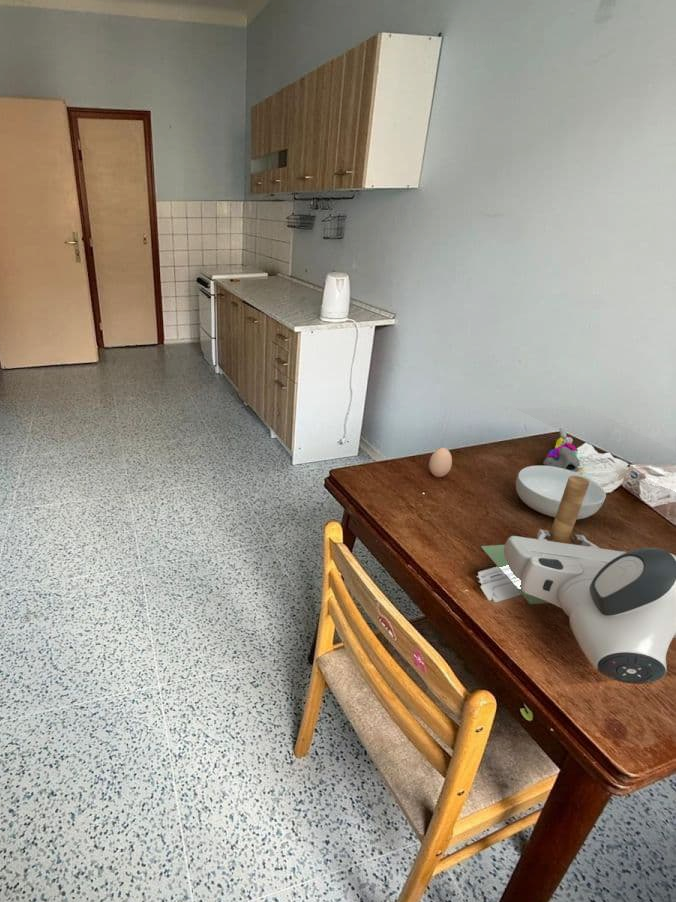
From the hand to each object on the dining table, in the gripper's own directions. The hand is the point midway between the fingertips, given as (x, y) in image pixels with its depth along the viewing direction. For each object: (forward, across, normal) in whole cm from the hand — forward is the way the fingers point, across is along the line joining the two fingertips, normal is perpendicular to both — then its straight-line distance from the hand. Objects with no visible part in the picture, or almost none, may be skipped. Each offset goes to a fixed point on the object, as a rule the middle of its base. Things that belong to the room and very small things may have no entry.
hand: (559, 535), depth 86 cm
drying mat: (0, -1, +9) cm, 9 cm away
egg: (+34, +16, +9) cm, 38 cm away
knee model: (+50, -17, +9) cm, 54 cm away
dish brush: (-1, 0, +8) cm, 8 cm away
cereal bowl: (+24, -8, +9) cm, 27 cm away
